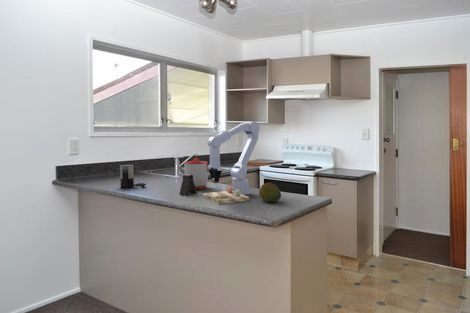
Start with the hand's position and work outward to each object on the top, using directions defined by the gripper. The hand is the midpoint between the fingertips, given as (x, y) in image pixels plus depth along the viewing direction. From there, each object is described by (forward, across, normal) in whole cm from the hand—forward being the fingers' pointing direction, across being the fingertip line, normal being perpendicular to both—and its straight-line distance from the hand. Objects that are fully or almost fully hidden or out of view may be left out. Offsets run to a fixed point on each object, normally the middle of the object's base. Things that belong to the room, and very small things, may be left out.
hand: (215, 181), depth 210 cm
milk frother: (+9, -57, -36) cm, 68 cm away
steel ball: (-1, 0, 0) cm, 1 cm away
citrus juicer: (+9, -32, +1) cm, 33 cm away
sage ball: (+5, +12, +8) cm, 16 cm away
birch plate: (+9, +7, +3) cm, 12 cm away
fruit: (+9, +26, +21) cm, 35 cm away
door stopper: (+9, -16, -11) cm, 21 cm away
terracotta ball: (+5, +1, +8) cm, 10 cm away
